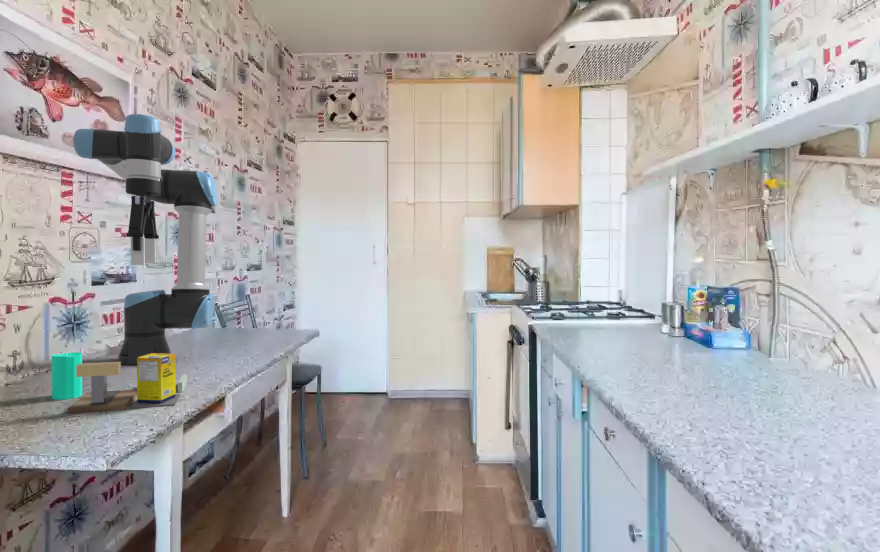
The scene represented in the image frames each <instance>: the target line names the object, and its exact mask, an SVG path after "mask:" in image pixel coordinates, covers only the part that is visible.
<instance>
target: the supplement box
mask: <svg viewBox="0 0 880 552" xmlns="http://www.w3.org/2000/svg"><path fill="white" fill-rule="evenodd" d="M176 364H177V363H176V353H171V354H166V353H151V354H148V355H144V356H141V357H138V358H137V365H136V367H137V368H136V370H137V374H136V375H137V377H136V378H137V381H136V382H137V394H138V395H137V399H138V403H163V402H165V401H167V400H169V399H172V398H174V397H175V396H176V394H177V391H176V388H177V385H176V384H177V381H176V376H177V375H176V374H177V372H176Z"/></svg>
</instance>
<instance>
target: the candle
mask: <svg viewBox="0 0 880 552" xmlns="http://www.w3.org/2000/svg"><path fill="white" fill-rule="evenodd" d="M82 363H83V354H82V352H79V351H78V352H66V353H58V354H51V399H53V400H55V401H56V400H58V401H59V400H60V401H61V400H71V399H77V398H79V397H82V396H83V377H76V366H77V365H78V364H82Z"/></svg>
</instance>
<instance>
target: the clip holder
mask: <svg viewBox="0 0 880 552" xmlns="http://www.w3.org/2000/svg"><path fill="white" fill-rule="evenodd" d="M187 385H188V374H182V375H181V377H180V379H179V380H178V382H177V392H178V393H183V391H184V390H185V388H186V386H187Z"/></svg>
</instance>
